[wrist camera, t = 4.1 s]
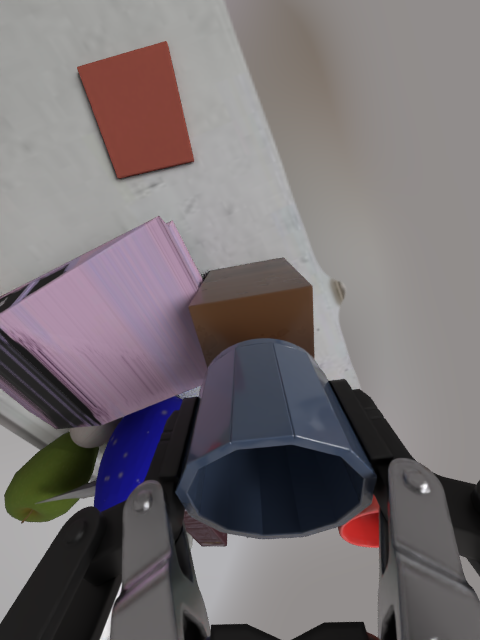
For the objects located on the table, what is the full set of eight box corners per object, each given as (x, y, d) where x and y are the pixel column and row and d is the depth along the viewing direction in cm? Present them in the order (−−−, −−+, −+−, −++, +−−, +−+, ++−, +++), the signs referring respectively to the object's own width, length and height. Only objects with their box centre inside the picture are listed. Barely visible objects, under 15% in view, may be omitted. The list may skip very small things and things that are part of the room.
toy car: (-5, 307, 24) (-148, 360, 15) (182, 214, 20) (132, 213, 11) (82, 392, 30) (15, 466, 21) (241, 336, 26) (240, 400, 17)
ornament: (154, 431, 34) (96, 570, 21) (120, 393, 30) (23, 533, 17) (215, 415, 32) (195, 557, 19) (187, 372, 28) (138, 511, 15)
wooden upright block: (209, 270, 22) (187, 306, 13) (283, 257, 22) (312, 285, 13) (225, 333, 26) (215, 395, 17) (289, 324, 25) (315, 383, 16)
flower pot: (357, 481, 40) (389, 555, 31) (307, 467, 38) (325, 539, 29) (394, 448, 36) (443, 522, 27) (339, 430, 34) (371, 502, 25)
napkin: (80, 70, 16) (76, 66, 15) (167, 44, 15) (166, 40, 15) (119, 179, 19) (117, 178, 18) (194, 161, 18) (193, 160, 18)
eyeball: (87, 393, 32) (114, 417, 34) (48, 432, 27) (82, 457, 29) (112, 387, 29) (138, 414, 32) (73, 429, 24) (109, 457, 26)
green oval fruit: (90, 453, 37) (31, 544, 27) (50, 425, 34) (-35, 517, 23) (126, 437, 35) (76, 530, 25) (86, 406, 32) (10, 498, 21)
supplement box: (160, 509, 27) (200, 548, 35) (195, 507, 26) (228, 548, 34) (180, 443, 35) (209, 487, 42) (207, 440, 34) (232, 485, 41)
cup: (189, 347, 10) (147, 450, 6) (321, 328, 10) (389, 426, 5) (218, 430, 13) (205, 542, 9) (322, 420, 12) (365, 534, 8)
